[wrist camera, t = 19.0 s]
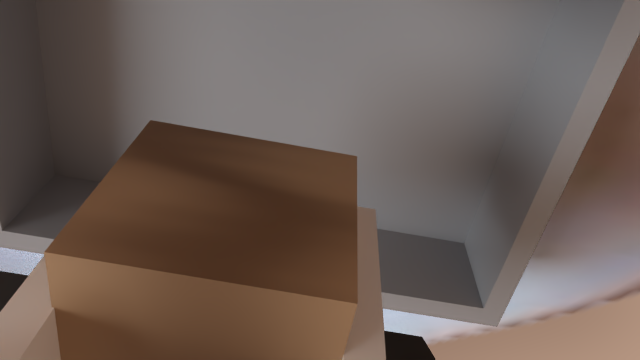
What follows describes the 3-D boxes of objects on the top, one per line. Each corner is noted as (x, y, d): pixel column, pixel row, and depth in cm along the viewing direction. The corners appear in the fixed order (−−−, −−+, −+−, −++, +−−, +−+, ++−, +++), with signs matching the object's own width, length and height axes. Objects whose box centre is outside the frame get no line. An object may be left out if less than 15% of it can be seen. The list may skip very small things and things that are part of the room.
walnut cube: (150, 277, 15) (69, 440, 11) (150, 119, 13) (44, 252, 8) (322, 305, 15) (309, 477, 11) (356, 155, 13) (358, 303, 8)
